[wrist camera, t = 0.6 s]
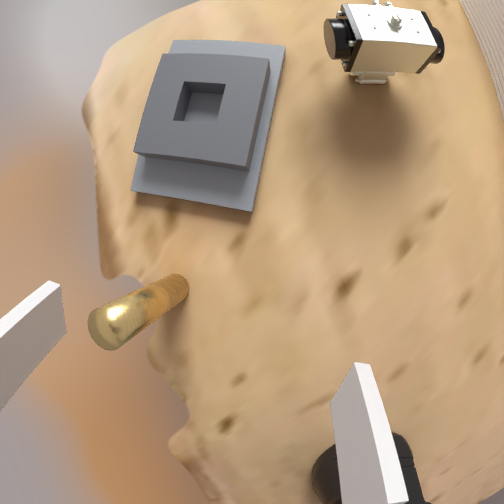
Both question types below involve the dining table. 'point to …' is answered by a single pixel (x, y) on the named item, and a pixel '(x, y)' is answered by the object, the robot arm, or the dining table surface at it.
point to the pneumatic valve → (382, 41)
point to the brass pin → (135, 311)
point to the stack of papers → (489, 37)
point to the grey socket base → (208, 122)
